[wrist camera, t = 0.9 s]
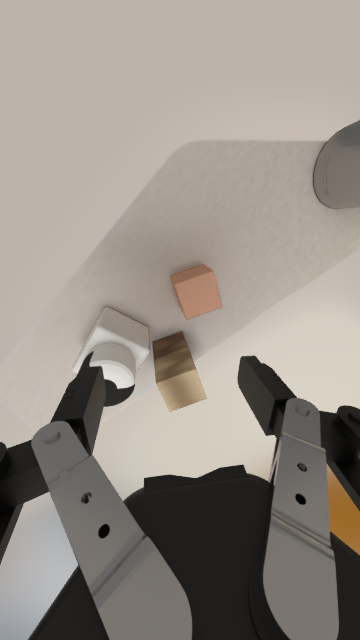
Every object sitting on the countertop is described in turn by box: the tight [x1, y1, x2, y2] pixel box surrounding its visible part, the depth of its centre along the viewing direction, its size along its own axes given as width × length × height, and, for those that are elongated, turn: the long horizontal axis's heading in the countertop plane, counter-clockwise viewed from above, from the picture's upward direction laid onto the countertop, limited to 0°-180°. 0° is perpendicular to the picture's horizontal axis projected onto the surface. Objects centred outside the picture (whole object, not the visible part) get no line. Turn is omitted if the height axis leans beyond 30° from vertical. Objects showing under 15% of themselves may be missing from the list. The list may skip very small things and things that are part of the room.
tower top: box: [154, 347, 206, 412], centre depth 29 cm, size 5×5×5 cm
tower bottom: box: [153, 331, 188, 359], centre depth 33 cm, size 5×5×5 cm
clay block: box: [170, 264, 222, 320], centre depth 30 cm, size 5×5×5 cm
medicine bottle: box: [72, 307, 150, 407], centre depth 28 cm, size 7×7×12 cm
